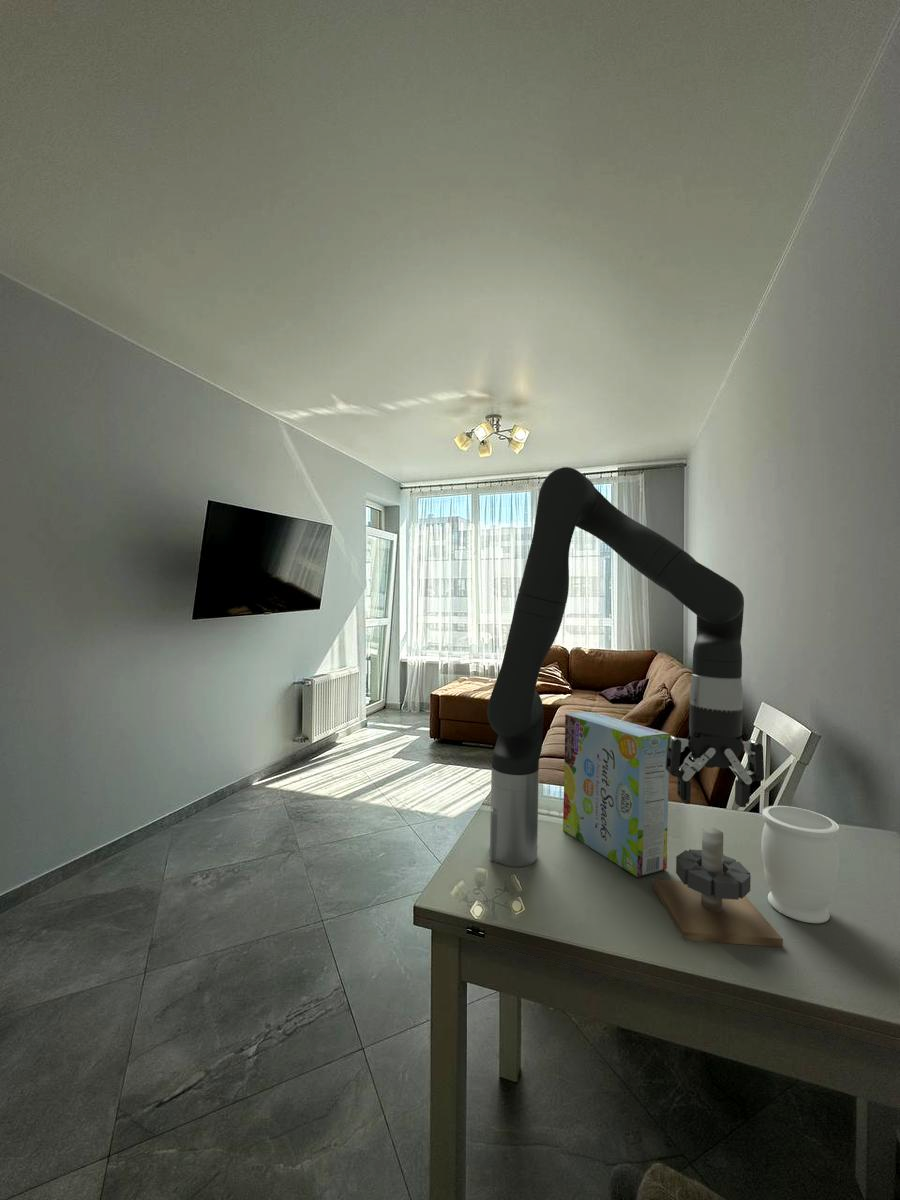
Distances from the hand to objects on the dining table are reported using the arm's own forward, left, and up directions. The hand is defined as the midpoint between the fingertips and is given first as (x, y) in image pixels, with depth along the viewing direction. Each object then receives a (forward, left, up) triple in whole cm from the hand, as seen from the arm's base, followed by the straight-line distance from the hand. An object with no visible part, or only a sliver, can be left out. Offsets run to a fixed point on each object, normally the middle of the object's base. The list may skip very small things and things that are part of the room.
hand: (712, 803), depth 80 cm
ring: (0, 0, -12) cm, 12 cm away
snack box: (-11, +20, -18) cm, 29 cm away
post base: (0, 0, -18) cm, 18 cm away
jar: (+15, +3, -18) cm, 24 cm away
